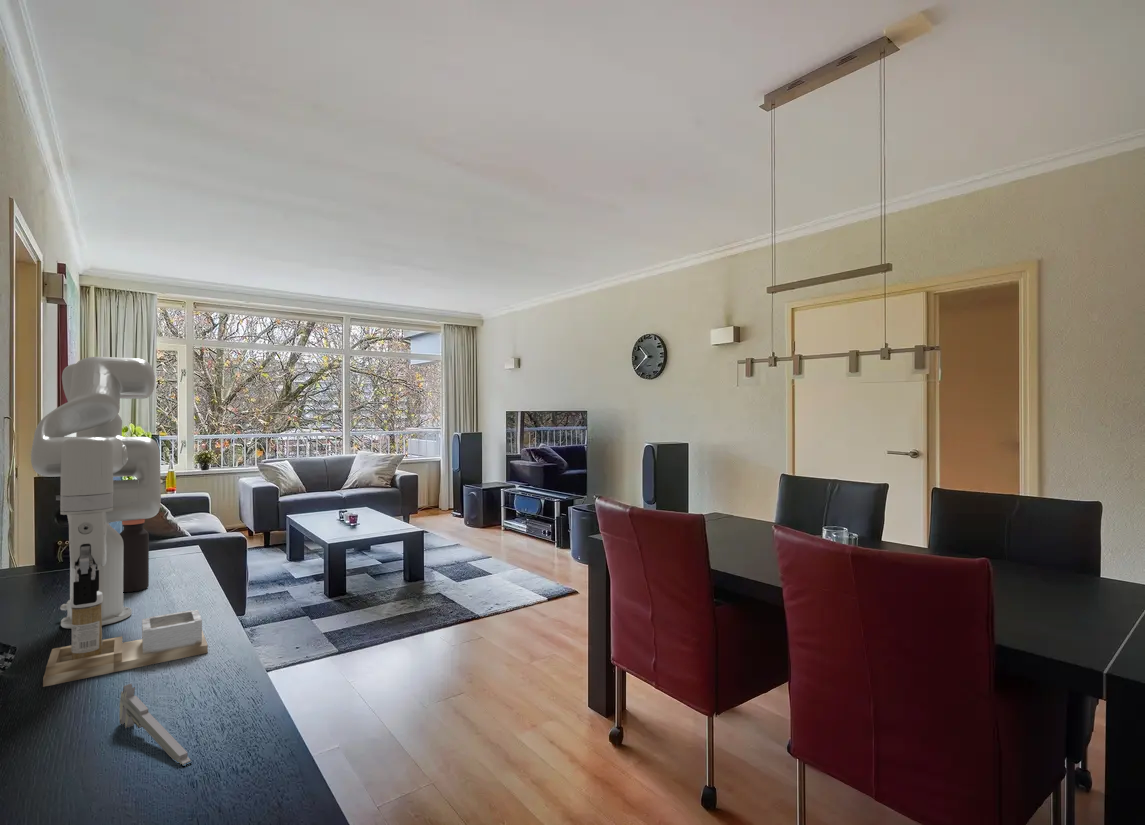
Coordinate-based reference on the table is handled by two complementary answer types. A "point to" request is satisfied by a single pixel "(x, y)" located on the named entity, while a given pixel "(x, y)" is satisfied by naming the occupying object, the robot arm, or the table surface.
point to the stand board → (110, 660)
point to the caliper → (148, 724)
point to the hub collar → (171, 631)
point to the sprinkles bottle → (87, 629)
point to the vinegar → (135, 555)
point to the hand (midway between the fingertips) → (86, 597)
